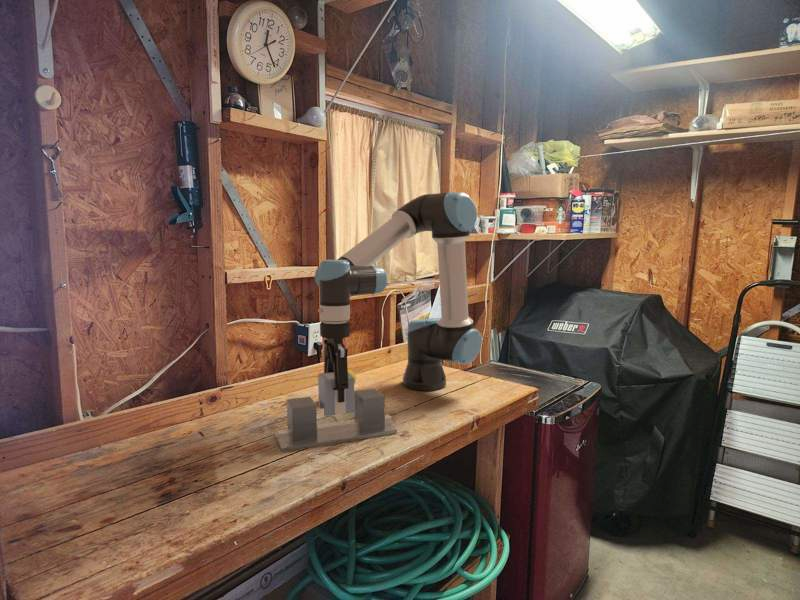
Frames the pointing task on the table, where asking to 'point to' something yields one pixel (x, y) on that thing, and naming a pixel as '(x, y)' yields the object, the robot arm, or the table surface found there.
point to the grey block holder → (310, 434)
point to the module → (327, 393)
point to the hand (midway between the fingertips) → (335, 408)
